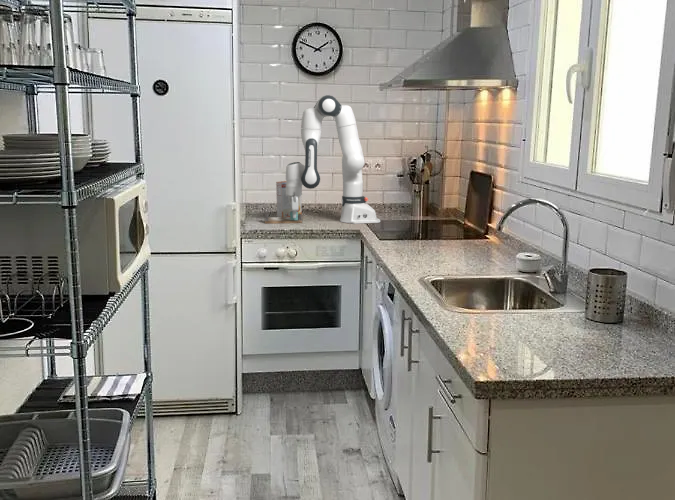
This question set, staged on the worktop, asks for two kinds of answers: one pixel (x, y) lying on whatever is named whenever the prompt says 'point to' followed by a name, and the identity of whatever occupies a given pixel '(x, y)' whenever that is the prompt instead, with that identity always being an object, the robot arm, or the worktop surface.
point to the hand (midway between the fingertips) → (293, 217)
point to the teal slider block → (292, 216)
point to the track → (280, 219)
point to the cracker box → (284, 201)
